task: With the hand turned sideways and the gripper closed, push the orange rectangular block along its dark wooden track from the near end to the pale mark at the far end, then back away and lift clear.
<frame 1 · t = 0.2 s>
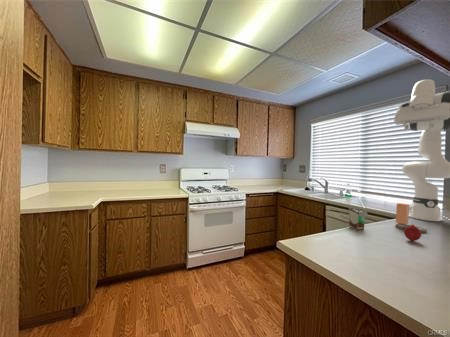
hand: (419, 128, 100), 54 cm above the counter, tool tilted 25°, fingers open, 8 cm apart
orange rectangular block: (402, 214, 114), point 8 cm above the counter, slide at 0.0 cm
onion: (412, 241, 93), on the counter
food container: (359, 228, 110), on the counter
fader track: (410, 229, 111), on the counter
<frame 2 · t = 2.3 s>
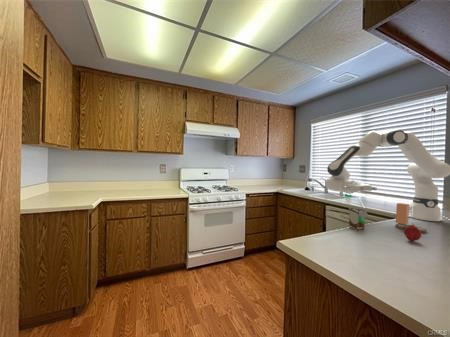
hand: (374, 189, 125), 20 cm above the counter, tool horizontal, fingers open, 7 cm apart
nothing on the counter moved.
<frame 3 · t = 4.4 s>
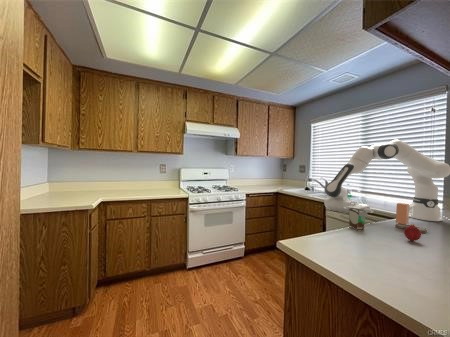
hand: (372, 211, 126), 6 cm above the counter, tool horizontal, fingers closed
nothing on the counter moved.
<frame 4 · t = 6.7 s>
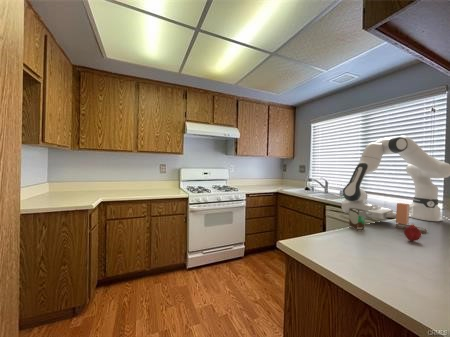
hand: (397, 216, 116), 6 cm above the counter, tool horizontal, fingers closed, pressing on orange rectangular block
orange rectangular block: (402, 214, 114), point 8 cm above the counter, slide at 0.1 cm, touching gripper
everything else where it was.
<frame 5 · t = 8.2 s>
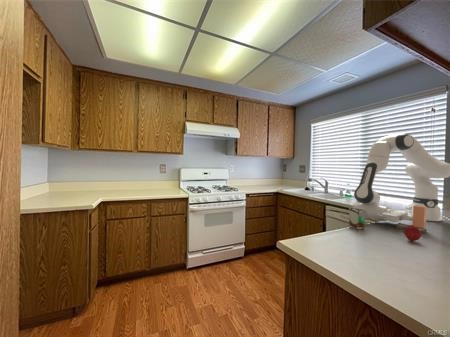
hand: (413, 219, 110), 6 cm above the counter, tool horizontal, fingers closed, pressing on orange rectangular block
orange rectangular block: (419, 217, 108), point 8 cm above the counter, slide at 7.1 cm, touching gripper
everything else where it was.
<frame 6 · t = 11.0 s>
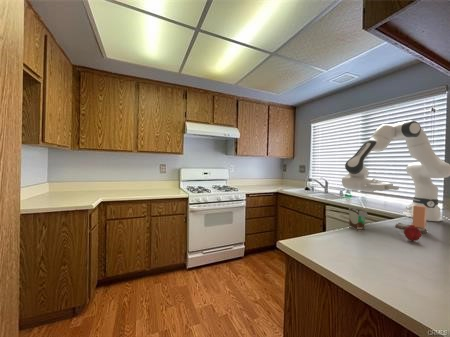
hand: (398, 188, 116), 22 cm above the counter, tool horizontal, fingers closed
orange rectangular block: (419, 217, 108), point 8 cm above the counter, slide at 7.2 cm
everything else where it was.
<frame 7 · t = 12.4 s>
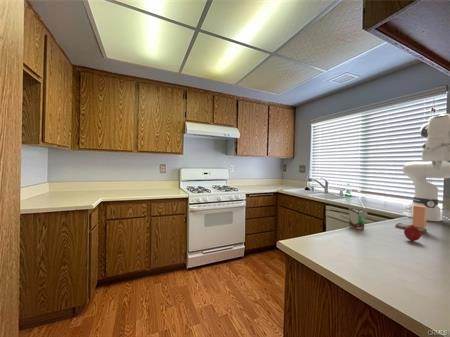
hand: (436, 169, 113), 34 cm above the counter, tool pointing down, fingers closed
nothing on the counter moved.
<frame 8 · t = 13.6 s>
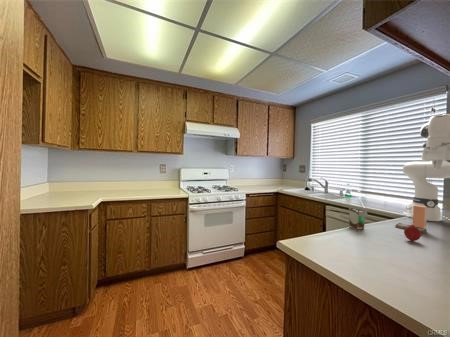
hand: (436, 168, 113), 34 cm above the counter, tool pointing down, fingers closed
nothing on the counter moved.
at the end: orange rectangular block slide at 7.2 cm; food container moved 0.2 cm from its start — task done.
